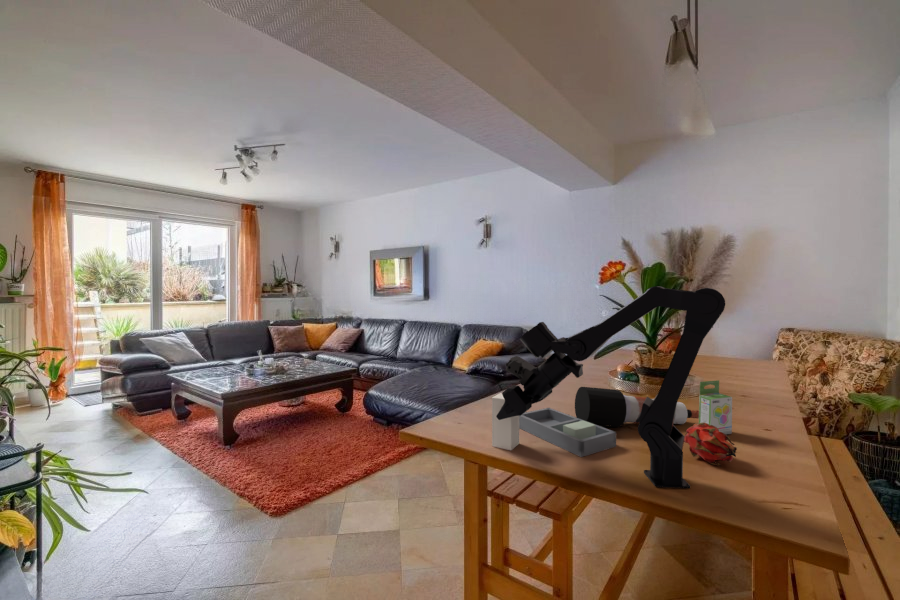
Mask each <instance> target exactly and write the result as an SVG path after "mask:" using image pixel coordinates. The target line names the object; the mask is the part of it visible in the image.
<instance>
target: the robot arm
mask: <svg viewBox="0 0 900 600" xmlns="http://www.w3.org/2000/svg"><path fill="white" fill-rule="evenodd" d="M659 307H662V308H668V309H674V310H678V311H685V316H684V317H685V318H684V325H683V331H682V334H681V337H680V339H679V341H678V343H677V346H676V349H675V350H674V354H673V356H672V358H671V360H670V363H669V366H668V368H667V371H666V373H665V376H664V378H663V380H662V383H661V385H660V387H659V390H658V393H657V394H656V395H655V397H654V398H650V397H649V396H646V397H647V398H646V399H645V401H644V403H643V405H642V410H641V412H640V414H639V416H638V418H637V419H636V422H639V423H637V424H638V425H637V433H638V435H639V437H640V438H641V440H642V441H644V442H645V443H646V445H647V447H648V449H649V452H650V461H649V463H650V464H649V465H650V468H649V469H643V474H644V475H645V477H646V478H647V479H648V480H649V481H650V482H651V483H652V484H653V486H654V487H656V488H669V489H670V488H671V489H672V488H673V489H691V485H690V483H688V482H687V480H685V478H684V477H683V474H684V470H683V468H684V467H683V465H684V452H683V448H684V443H685V442H684V438H685V437H684V436H685V434H683V433H682V432H681V431H680V430H679V428H677V427H676V426H675V425H674V424H673V423H674V417H675V412H676V406H677V402H679V398H680V396H681V395H682V392H683V389H684V387H685V384H686V382H687V379H688V378H689V375H690V373H691V370H692V368H693V365H694V363H695V360H696V358H697V355H698V354H699V351H700V349H701V346H702V344H703V341H704V339H705V338H706V336H707V335H708V333H709V332H710V331H711V330H712V329H713V327H714V325H715V324H716V322H717V321H718V319H719V318H720V317H721V315H722V314H723V312H724V311H725V309H726V298H725V297H724V296H723V294H722V293H721V292H720V291H719V290H716V289H715V288H712V287H701V288H700V289H697V290H695V291H693V290H692V291H691V290H686V289H685V290H684V289H677V288H666V287H663V286H658V285H657V286H651V287H649V288H648V289H646V291H645V292H644V293H642V294H641V295H640V296H638V297H636V298H635V299H633V300H632V301H631V302H629V303H627V304H626V305H624V306H623V307H622V308H620V309H618V310H617V311H616V312H613V314H611V315H610V316H609V317H607V318H605V319H604V320H603V321H601V322H599V323H597V324H595V325H592V326H590V327H587V328H586V329H584V330H581V331H579V332H576V333H574V334H572V335H570V336H569V337H564V336H563V337H560V338H557V336H556V335H555V334H554V333H553V332H552V331H551V330H550V328H549V327H548V325H547V324H546V323H545V322H544V321H541V322H537V324H536V325H534V326H533V327H531V328H530V329H529V330H527V331H525V332H524V333H523V334H522V336H521V337H520V339H519V340H520V341H521V342H522V344H523V345H524V346H525V347H526V348H527V350H528V351H529V352H530V353H531V354H532V355H533V356H534V358H535V359H539V358H541V359H542V360H543V359H545V358H546V357H548V356H549V355H550V354H551V355H550V356H549V357H548V358H547V359H546V360H545V361H543V362H542V363H541V364H539V365H538V366H537V367H536V366H534V365H533V364H532V363H531V362H529V361H527V360H525V359H523V358H522V357H520V356H517V355H514V356H513V357H510V359H508V361H507V362H506V363H505V366H506V368H505V371H506V372H508V373H509V374H510V373H511V374H512V375H513V376H515V377H517V378H518V379H519V380H518V382H519V384H520V385H521V386H523V387H522V388H523V389H522V388H521V386H520V385H517V384H512V385H509V386H508V387H507V388H506V389H505V390H504V391H502V392H501V393H502V395H503V397H504V399H505V402H504V404H503V406H502V408H501V409H500V411H499V413H498V414H497V416H496V417H497V418H498V420H501V419H505V418H509V417H514V416H521V415H522V414H524V413H525V412H528V410H530V409H531V408H532V407H533V404H537V403H539V402H541V401H543V400H545V399H546V398H547V397H549V396H550V395H551V394H552V393H553V389H554V388H556V387H557V386H558V385H560V383H561V382H562V381H564V379H566V378H567V377H568V376H569V375H571V374H573V375H574V377H575V378H577V379H579V378H580V377H581V376H583V375H584V371H583V369H584V368H583V367H584V364H583V363H577V362H582V361H585V360H587V359H589V358H590V357H592V356H593V355H595V354H596V353H597V352H598V351H599V350H600V349H601V348H602V347H603V346H604V345H605V344H606V343H607V342H608V341H609V340H610V339H611V338H612V337H614V336H615V335H616V334H618V333H619V332H621V331H623V330H624V329H626V328H627V327H629V326H630V325H632V324H633V323H635V322H637V321H638V320H639V319H641V318H642V317H644V316H645V315H647V314H648V313H650V312H652V311H654V310H655V309H657V308H659ZM552 352H553V353H552ZM652 399H654V400H652Z"/></svg>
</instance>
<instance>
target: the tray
mask: <svg viewBox="0 0 900 600" xmlns="http://www.w3.org/2000/svg"><path fill="white" fill-rule="evenodd" d="M519 430H522V431H525V432H526V433H529V434H530V435H533V436H535V437H538V438H539V439H541V440H544V441H545V442H547V443H550V444H553V445H554V446H556V447H558V448H561V449H562V450H565V451H567V452H569V453H572V454H573V455H576V456H578V457H579V458H583V457H586V456H589V455H592V454H595V453H596V454H597V453H598V452H603V451H606V450H609V449H612V448H616V447H617V432H616V431H614V430H611V429H608V428H606V427H604V426H598V425H595V424H592V423H590V422H587V421H584V420H582V419H579V418H576V416H573V415H570V414H567V413H564V412H562V411H559V410H556V409H555V408H551V407H546V408H541V409H535V410H531V411H526V412H525V413H524V414H522V415H521V416H519Z"/></svg>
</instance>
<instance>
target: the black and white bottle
mask: <svg viewBox="0 0 900 600" xmlns="http://www.w3.org/2000/svg"><path fill="white" fill-rule="evenodd" d="M647 397H648V396H646V397H645V396H643V397H642V396H634V395H626V394H624V393H623V392H622V391H621V390H619V389H615V388H614V389H613V388H603V387H602V388H601V387H589V386H580V387H579V388H578V389H577V391H576V394H575V398H574V412H575V417H576V418H579V419H582V420H584V421H587V422H590V423H592V424H595V425H598V426H601V427H611V428H614V427H615V428H619V427H621V426H622V425H624V424H625V423H633V424H639V422H636V419H637V418H638V416H639V414H640V412H641V410H642V405H643V403H644V401H645V399H646V398H647ZM651 399H652V400H654V398H651ZM687 419H698V420H699V409H698V410H696V409H695V410H694V409H693V410H691V409H687V407H686V405H685V403H683V402H682V401H681V402H680V401H677V406H676V412H675V417H674V423H673V425H674V424H675V425H684V424H685V423H687Z"/></svg>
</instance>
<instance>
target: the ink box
mask: <svg viewBox="0 0 900 600" xmlns="http://www.w3.org/2000/svg"><path fill="white" fill-rule="evenodd" d="M710 385H712V386H714V387H712V388H705V387H706V386H707V387H708V386H710ZM698 398H699V399H698V400H699V403H698V404H699V405H698V411H699V419H698V424H700V423H702V422H705V423H707V424H709V425H713V426H715V427H717V428H718V429H719V432H722V433H724V434H726V435H731V434H732V433H733V397H732V396H730V395H726V394H724V393H720V380H719V379H717V380H707V381H700V382H699V395H698Z"/></svg>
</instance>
